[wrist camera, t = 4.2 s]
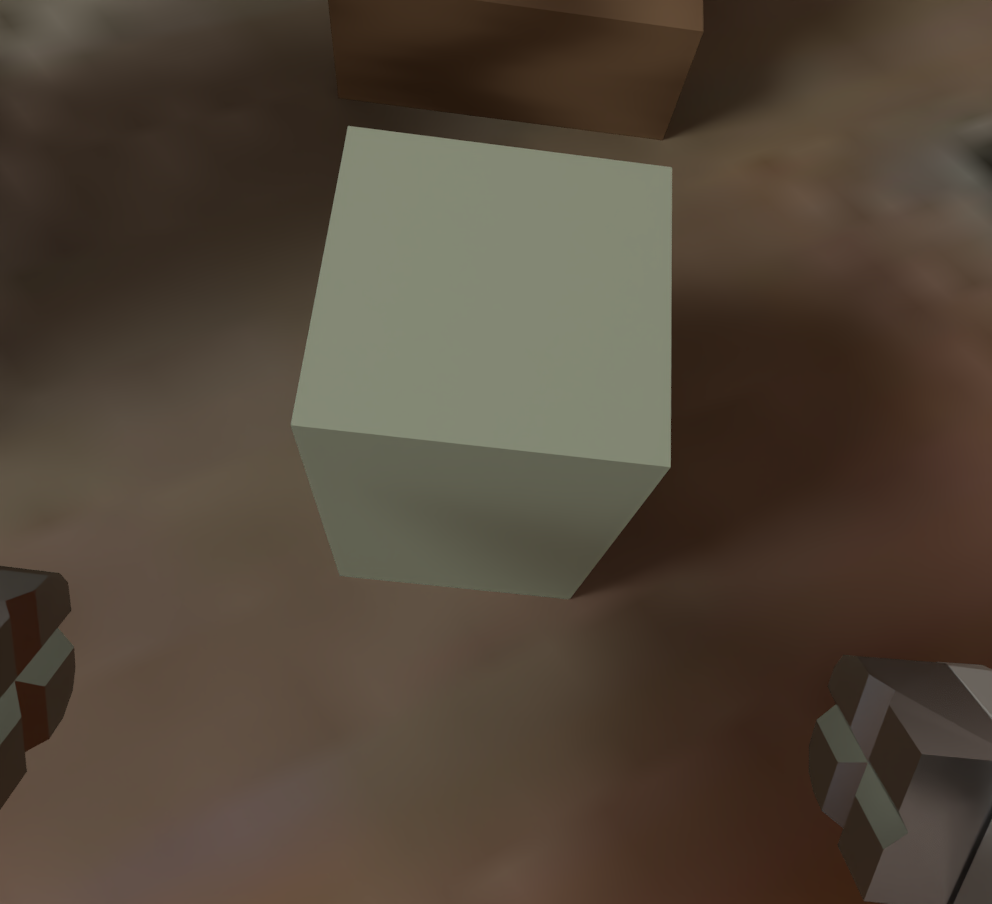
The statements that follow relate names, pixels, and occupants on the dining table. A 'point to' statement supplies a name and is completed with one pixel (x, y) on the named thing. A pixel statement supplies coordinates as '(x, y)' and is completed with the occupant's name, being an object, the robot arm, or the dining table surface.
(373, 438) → the sage block
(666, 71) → the tower base
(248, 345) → the dining table surface
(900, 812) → the robot arm
